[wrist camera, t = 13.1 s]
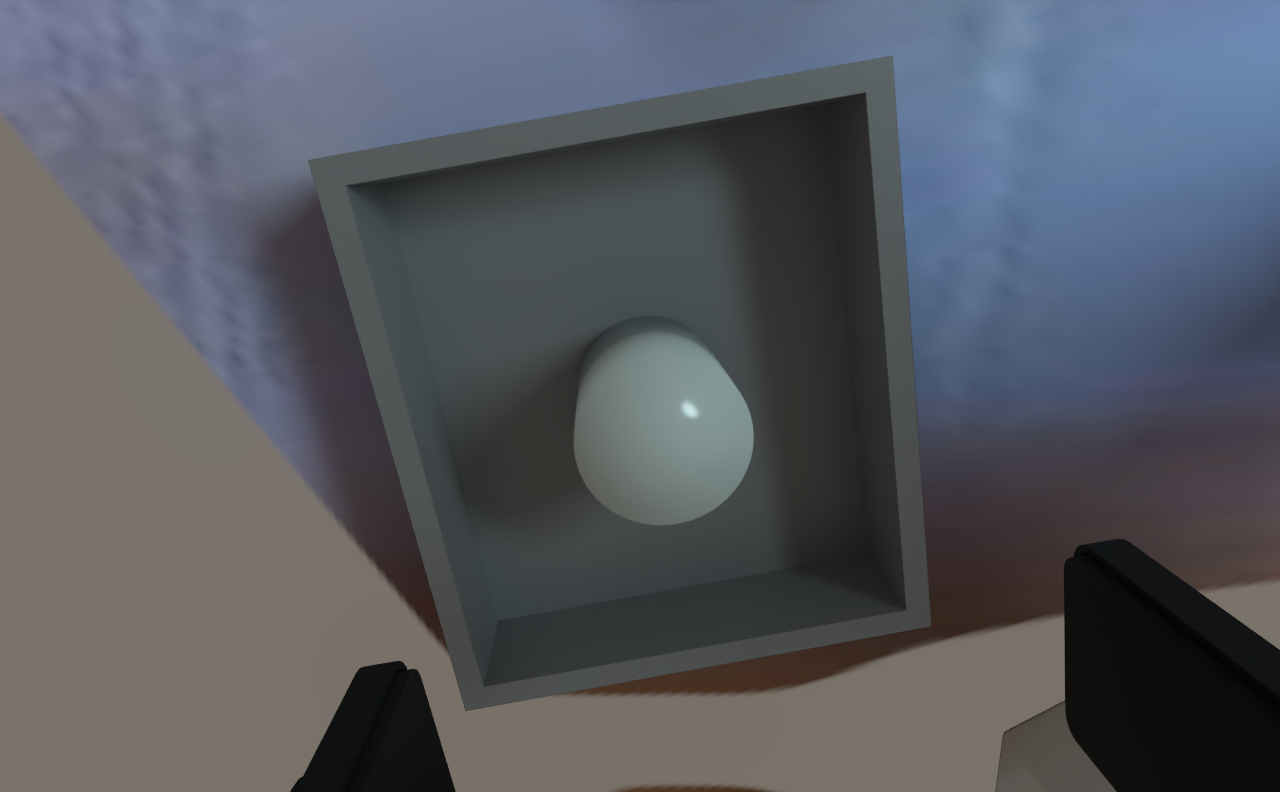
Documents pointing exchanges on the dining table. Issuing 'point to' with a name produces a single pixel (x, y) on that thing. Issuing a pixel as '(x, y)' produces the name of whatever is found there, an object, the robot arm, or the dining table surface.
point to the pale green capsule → (659, 423)
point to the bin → (626, 288)
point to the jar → (1046, 758)
